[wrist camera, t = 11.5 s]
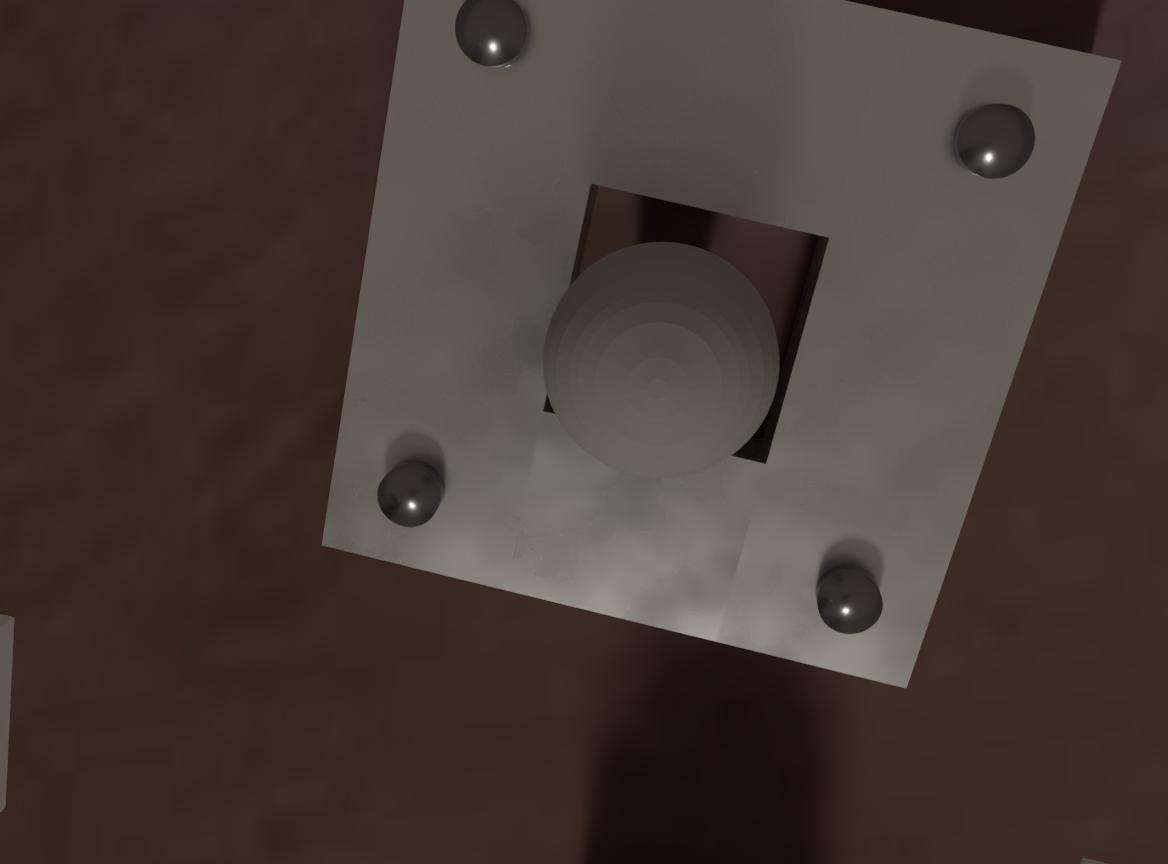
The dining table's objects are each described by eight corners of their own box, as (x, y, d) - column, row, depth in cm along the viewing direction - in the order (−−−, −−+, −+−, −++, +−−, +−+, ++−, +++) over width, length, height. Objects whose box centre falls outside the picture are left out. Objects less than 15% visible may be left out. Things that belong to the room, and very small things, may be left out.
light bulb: (778, 371, 33) (817, 476, 23) (603, 418, 34) (571, 538, 24) (731, 192, 31) (752, 224, 22) (550, 246, 32) (494, 300, 23)
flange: (346, 517, 36) (312, 555, 32) (440, -78, 30) (410, -98, 27) (893, 649, 35) (911, 702, 32) (1089, 64, 29) (1133, 59, 26)
